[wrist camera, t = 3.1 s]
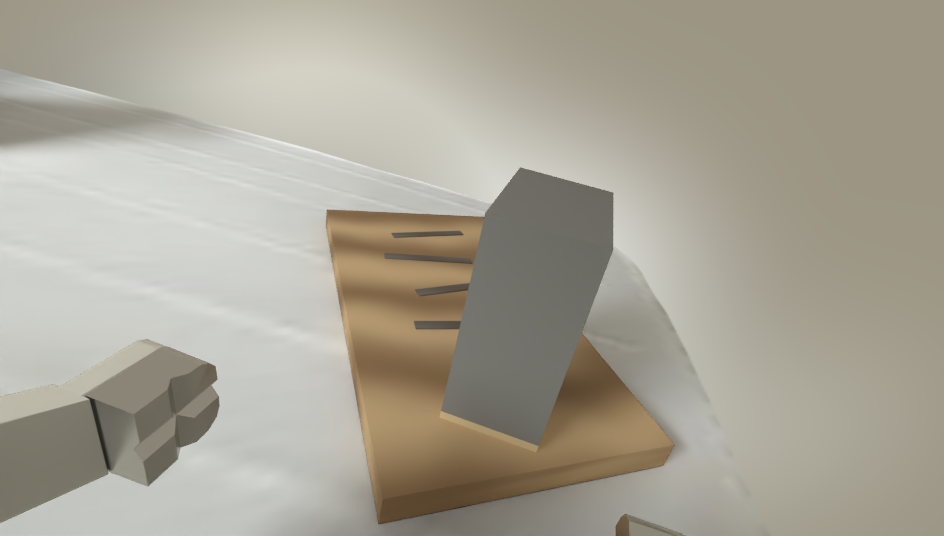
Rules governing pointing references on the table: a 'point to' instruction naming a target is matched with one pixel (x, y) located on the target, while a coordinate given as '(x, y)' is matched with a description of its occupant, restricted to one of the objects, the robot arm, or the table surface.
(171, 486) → the table surface
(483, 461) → the oak board
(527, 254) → the block
